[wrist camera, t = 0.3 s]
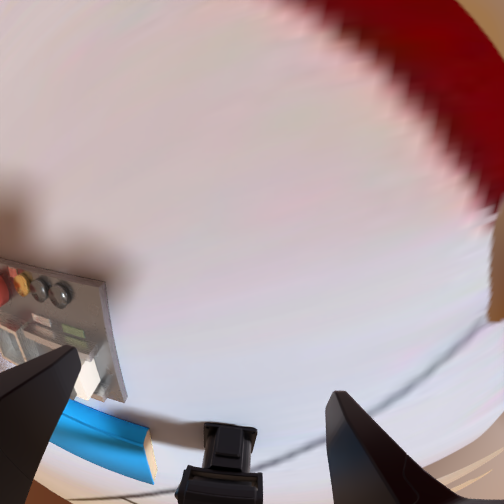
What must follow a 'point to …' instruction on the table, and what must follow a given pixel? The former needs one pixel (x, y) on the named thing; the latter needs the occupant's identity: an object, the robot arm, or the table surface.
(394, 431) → the table surface
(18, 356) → the panel
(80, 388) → the breaker
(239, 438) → the robot arm
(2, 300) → the cap
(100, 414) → the book
